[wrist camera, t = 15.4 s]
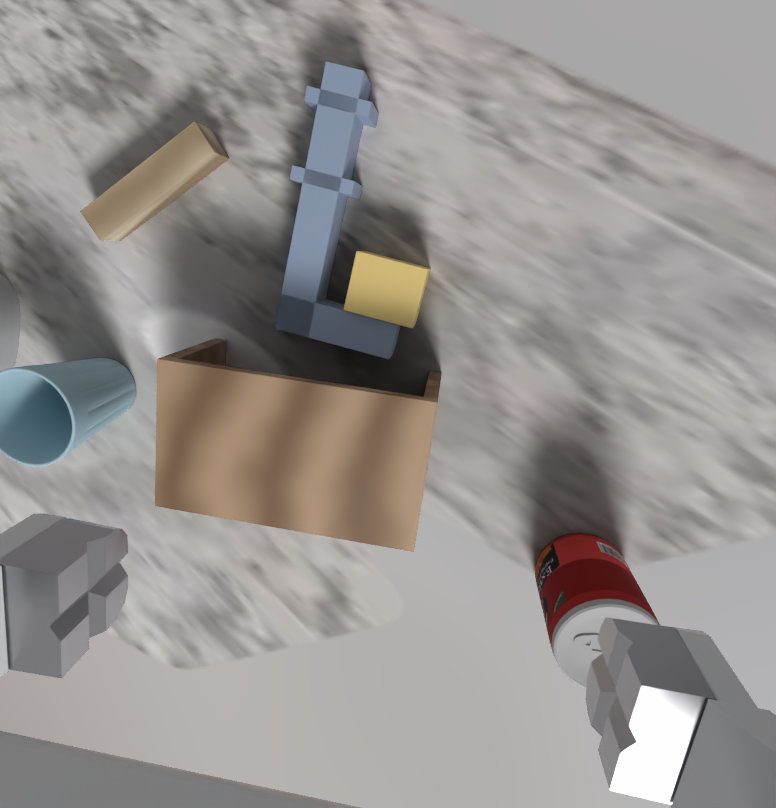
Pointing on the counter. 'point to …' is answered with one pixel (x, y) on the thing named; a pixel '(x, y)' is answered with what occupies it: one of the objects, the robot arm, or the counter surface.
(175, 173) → the beech stick
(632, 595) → the canned food
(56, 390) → the cup
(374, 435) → the box
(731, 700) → the robot arm
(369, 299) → the ochre block
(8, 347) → the lumpy-topped squat cylinder
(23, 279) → the counter surface
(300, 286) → the crook
